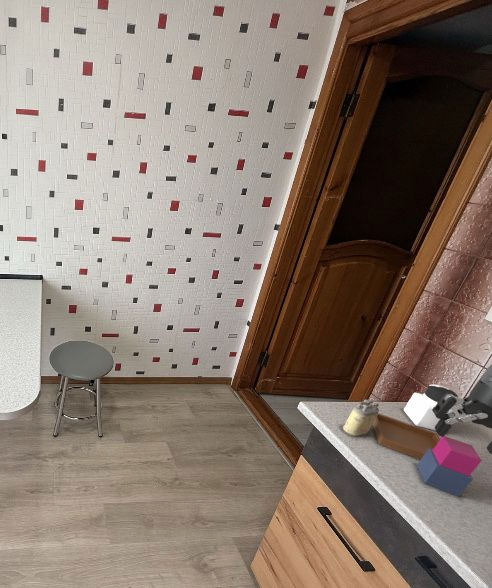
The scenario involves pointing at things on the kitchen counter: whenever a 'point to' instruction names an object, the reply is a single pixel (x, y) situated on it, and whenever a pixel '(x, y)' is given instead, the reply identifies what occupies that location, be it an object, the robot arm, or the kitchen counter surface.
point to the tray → (404, 436)
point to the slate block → (442, 475)
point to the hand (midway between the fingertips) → (464, 442)
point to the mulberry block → (456, 455)
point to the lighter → (361, 418)
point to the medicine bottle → (426, 406)
